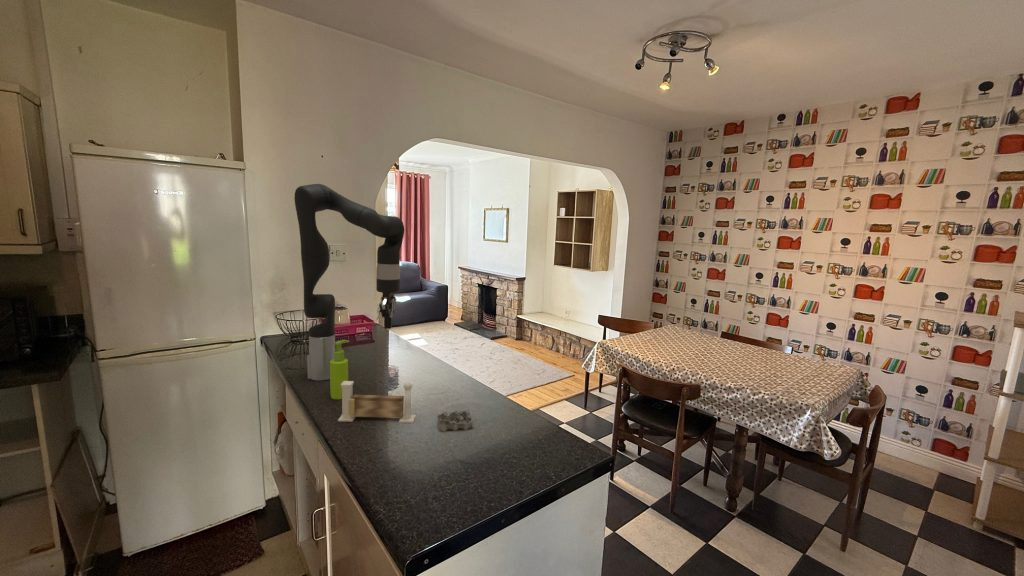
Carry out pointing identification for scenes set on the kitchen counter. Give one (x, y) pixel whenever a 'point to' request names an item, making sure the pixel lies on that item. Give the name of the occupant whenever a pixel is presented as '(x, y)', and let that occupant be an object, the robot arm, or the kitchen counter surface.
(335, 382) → the soap dispenser
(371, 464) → the kitchen counter surface
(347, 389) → the post
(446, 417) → the egg carton
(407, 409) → the hinge post
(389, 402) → the gate
